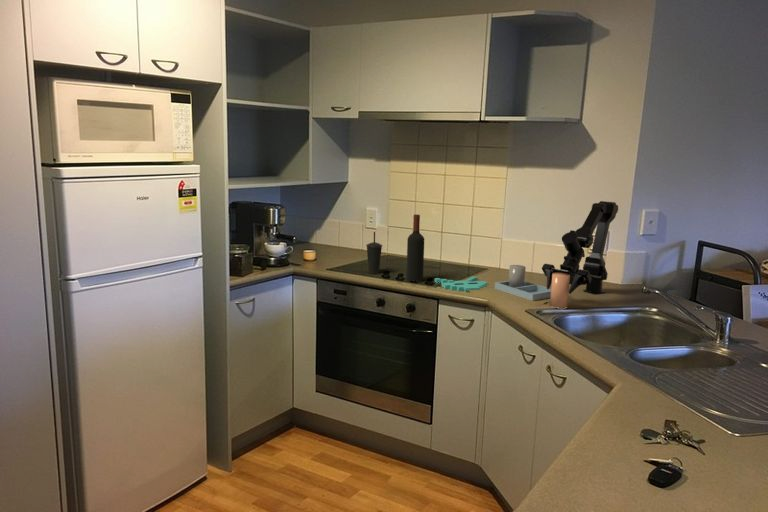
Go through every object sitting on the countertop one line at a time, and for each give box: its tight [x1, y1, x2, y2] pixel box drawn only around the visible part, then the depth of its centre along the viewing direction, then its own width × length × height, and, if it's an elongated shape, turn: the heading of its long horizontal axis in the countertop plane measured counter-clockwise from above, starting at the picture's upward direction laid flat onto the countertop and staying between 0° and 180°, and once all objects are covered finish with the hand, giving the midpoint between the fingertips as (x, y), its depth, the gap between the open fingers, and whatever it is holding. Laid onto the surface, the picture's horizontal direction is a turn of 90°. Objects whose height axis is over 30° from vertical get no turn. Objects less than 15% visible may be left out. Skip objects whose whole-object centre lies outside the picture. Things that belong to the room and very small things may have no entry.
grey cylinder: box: [508, 264, 526, 288], centre depth 252 cm, size 7×7×10 cm
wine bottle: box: [405, 214, 425, 283], centre depth 267 cm, size 8×8×30 cm
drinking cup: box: [366, 231, 383, 275], centre depth 280 cm, size 8×8×20 cm
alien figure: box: [434, 276, 489, 293], centre depth 261 cm, size 20×2×20 cm
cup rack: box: [494, 280, 551, 301], centre depth 249 cm, size 14×22×4 cm, turn 32°
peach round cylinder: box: [549, 273, 570, 308], centre depth 230 cm, size 7×7×13 cm
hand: (558, 291), depth 229 cm, fingers open, 9 cm apart
